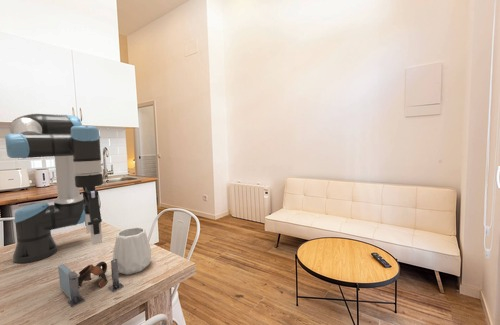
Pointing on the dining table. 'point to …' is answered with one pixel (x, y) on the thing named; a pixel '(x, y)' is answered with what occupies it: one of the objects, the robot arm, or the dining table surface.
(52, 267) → the dining table surface
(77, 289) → the hinge post
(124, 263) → the vase
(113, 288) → the post
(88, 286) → the dining table surface
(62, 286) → the gate
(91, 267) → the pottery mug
